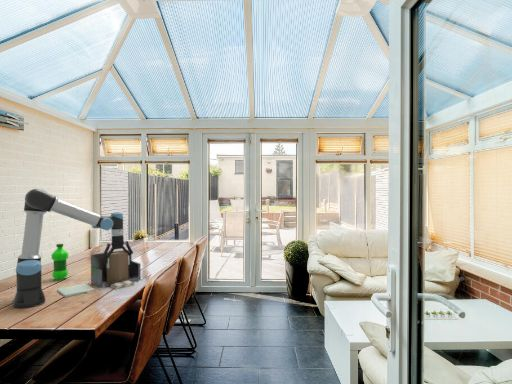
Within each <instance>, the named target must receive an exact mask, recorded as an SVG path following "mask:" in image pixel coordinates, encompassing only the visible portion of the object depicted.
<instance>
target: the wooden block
mask: <svg viewBox="0 0 512 384" xmlns="http://www.w3.org/2000/svg"><path fill="white" fill-rule="evenodd" d="M108 258H109V268H107V281H106V283H109V282H115V281H120V280H125V279H130V278H129V276H128V253H119V252H116V253H112V254H111V255H110V256H109V257H108Z"/></svg>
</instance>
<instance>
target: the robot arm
mask: <svg viewBox="0 0 512 384" xmlns="http://www.w3.org/2000/svg"><path fill="white" fill-rule="evenodd" d="M23 212H25V215H26V216H25V223H24V231H23V239H22V248H21V254H20V255H19V256H17V263H16V267H15V274H16V275H15V276H16V292H15V296H14V298H13V300H12V307H13V308H16V309H26V308H31V307H36V306H40V305H42V304H44V303H46V296H45V293H44V290H43V289H42V288H43V287H42V282H43V281H42V268H43V266H42V256H41V254H40V246H41V240H42V239H41V238H42V231H43V223H44V222H43V220H44V215H45V214H46V213H51V212H53V213H57V214H60V215H62V216H65V217H67V218H70V219H74V220H77V221H78V222H81V223H85V224H87V225H90V226H91V227H92V229H102V230H104V231H109V230H111V243H109V242H108V243H106V247H105V249H104V251H103V252H102V253H103V255H102V258H105V263H107V268H109V258H108V257H109V256H110V255H111V253H112V252H114V251H116V250H121V249H122V250H124V251H125V252H126V253H128V265H129V260H130V259H131V254H132V255H133V254H134V251H133V249H132V248H131V246H130V244H129V241H128V240H125V241H124V239H125V238H124V214H123V212H112V213H111V214H110V215H105V216H104V215H102V214H98V213H96V212H94V211H91V210H87V209H86V208H82V207H80V206H78V205H74V204H71V203H69V202H67V201H64V200H62V199H59V198H58V197H57V196H56V195H53V194H51V193H49V192H47V191H46V190H44V189H42V188H41V189H40V188H33V189H30V190H28V191H27V193H26V194H25V196H24V207H23ZM124 245H125V246H126V247H125V246H124ZM110 247H111V248H110ZM127 250H129V252H130V253H129V252H128V251H127ZM107 252H108V253H107ZM106 254H107V255H106Z"/></svg>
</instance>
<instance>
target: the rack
mask: <svg viewBox="0 0 512 384" xmlns="http://www.w3.org/2000/svg"><path fill="white" fill-rule="evenodd" d="M127 251H128V252H129V250H128V249H127ZM108 252H109V251H108ZM108 252H107V253H108ZM116 252H119V253H126V252H125V251H124V250H123V249H122V250H114V251H113V252H112V253H116ZM103 253H104V252H102V253H101V252H100V253H94V254H93V253H92V254H90V280H91V281H90V283H91V284H90V285H92V284H93V285H95V286H96V287H98V288H102V287H103V282H106V283H104V284H105V286H104V287H105V288H112V287H111V284H114V283H119V282H123V281H128V280H129V281H131V282H134V283H135V282H139V281H140V280H141V276H142V275H141V271H142V270H141V269H142V268H141V262H138V261H134V260H132V259H133V257H132V255H133V254H131V259H130V260H129V265H128V276H129V277H131V278H129V279H125V280H120V281H115V282H109V283H107V263H105V258H102V255H103ZM112 253H111V254H112ZM129 253H130V252H129ZM106 255H107V254H106Z"/></svg>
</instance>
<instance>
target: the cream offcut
mask: <svg viewBox="0 0 512 384" xmlns="http://www.w3.org/2000/svg"><path fill="white" fill-rule="evenodd" d="M134 284H135V282H131V281H129V280H128V281H123V282H119V283H114V284H111V287H110V288H112V289H115V290H119V289H122V288H127V286H128V287H132V285H133V286H134Z"/></svg>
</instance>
